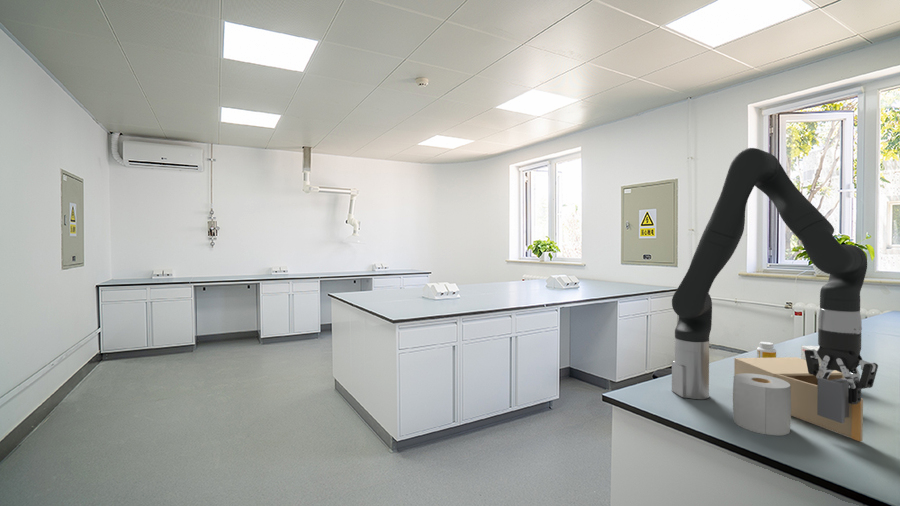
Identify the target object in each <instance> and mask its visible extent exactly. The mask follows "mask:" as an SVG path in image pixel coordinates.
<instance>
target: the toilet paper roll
mask: <svg viewBox="0 0 900 506" xmlns="http://www.w3.org/2000/svg"><path fill="white" fill-rule="evenodd" d="M732 383H733V386H732V415H733V422H734V423H735V424H736V425H737V426H739V427H740V428H741V429H744V430H747V431H749V432H754V433H757V434H760V435H766V436H767V435H768V436H777V437H778V436H779V437H780V436H786V435H788V434H789V433H790V432H791V422H792V416H791V388H790V384H789V383H788V382H786V381H784V380H782V379H779V378H775V377H771V376H766V375H760V374H748V373H744V374H736V375H734V374H733V382H732Z"/></svg>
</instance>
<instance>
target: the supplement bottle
mask: <svg viewBox="0 0 900 506" xmlns="http://www.w3.org/2000/svg"><path fill="white" fill-rule="evenodd" d="M756 358H777V350H776V349H775V348H774V343H773V342H770V341H769V342H768V341H760V342H759V346H758V347H757V348H756Z"/></svg>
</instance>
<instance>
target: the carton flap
mask: <svg viewBox="0 0 900 506" xmlns="http://www.w3.org/2000/svg"><path fill="white" fill-rule="evenodd" d="M774 377H775V378H779V379H782V380H784V381H786V382H788V383H789V384H790V388H791V417H794V418H796V419H799V420H802V421H804V422H807V423H810V424H812V425H816V426H818V427H821V428H822V429H823V428H824V429H826V430H829V431H832V432H834V433H837V434H840V435H842V436H845V437H848V438H851V440H855V441H858V442H863V435H864V434H863V430H864V429H863V427H864V422H863V421H864V399H863V398H862V397H861V401H860V402H858V404H854V405H853V404H849V403H848V388H850V386H849V384H848V381H847V379H845V378H841V379H834V380H828V379H824V378H818V389H817V385H814V384H810V383H807V382H803V381H800V380H797V379H793V378H790V377H786V376H783V375H779V374H776V373H775V374H774Z"/></svg>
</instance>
